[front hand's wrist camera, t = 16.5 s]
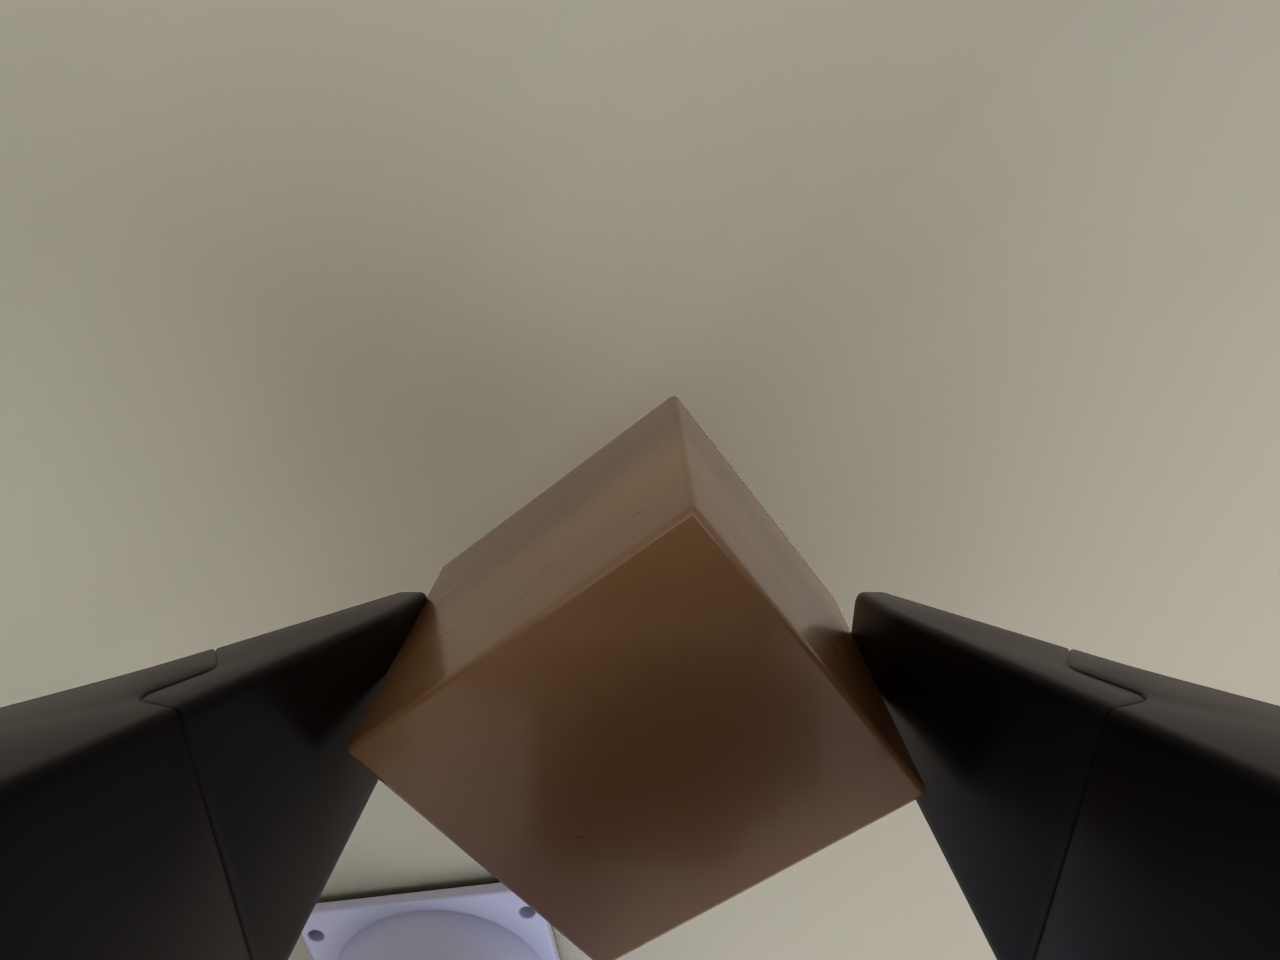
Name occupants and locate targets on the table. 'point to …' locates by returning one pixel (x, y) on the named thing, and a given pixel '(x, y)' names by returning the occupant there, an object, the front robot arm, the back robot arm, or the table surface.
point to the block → (636, 697)
